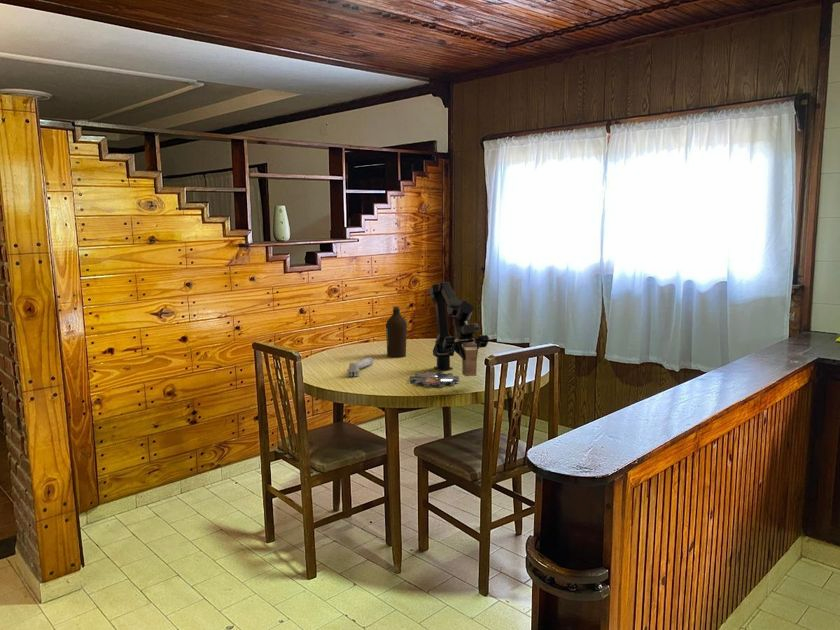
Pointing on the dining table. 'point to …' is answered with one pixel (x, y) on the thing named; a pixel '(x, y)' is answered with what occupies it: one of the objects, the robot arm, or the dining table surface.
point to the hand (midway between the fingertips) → (470, 359)
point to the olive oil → (396, 334)
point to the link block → (469, 359)
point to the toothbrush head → (359, 366)
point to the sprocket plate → (433, 379)
